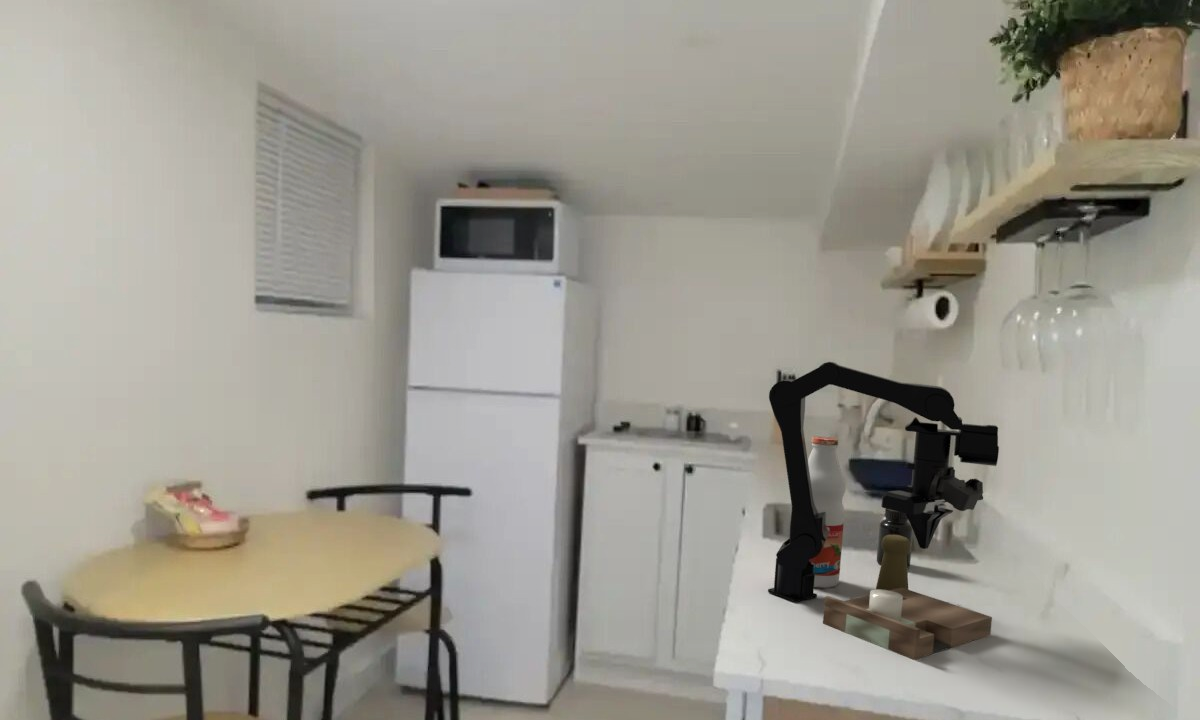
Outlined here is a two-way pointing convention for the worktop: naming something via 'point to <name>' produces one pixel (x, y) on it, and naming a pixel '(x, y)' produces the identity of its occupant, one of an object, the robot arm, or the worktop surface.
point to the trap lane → (908, 623)
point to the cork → (894, 563)
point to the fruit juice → (827, 508)
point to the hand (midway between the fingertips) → (923, 548)
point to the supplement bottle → (894, 531)
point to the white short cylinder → (886, 603)
